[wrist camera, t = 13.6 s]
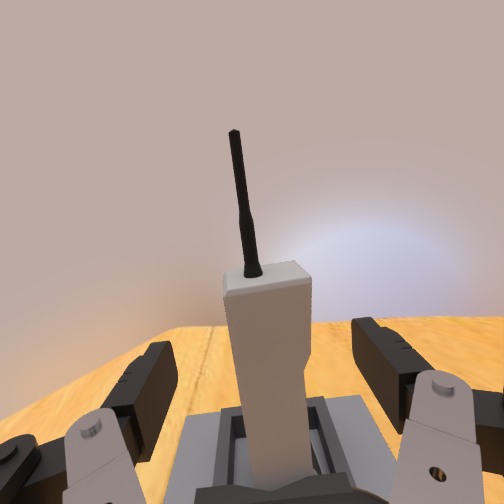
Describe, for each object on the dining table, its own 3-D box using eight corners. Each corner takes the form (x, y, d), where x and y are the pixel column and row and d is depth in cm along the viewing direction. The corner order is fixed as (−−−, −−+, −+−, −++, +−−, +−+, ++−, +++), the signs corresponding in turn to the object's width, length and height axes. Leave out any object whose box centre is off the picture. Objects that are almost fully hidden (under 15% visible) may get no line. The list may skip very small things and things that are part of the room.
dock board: (360, 406, 27) (359, 373, 26) (472, 622, 14) (478, 570, 13) (189, 427, 28) (181, 395, 27) (132, 660, 14) (113, 611, 13)
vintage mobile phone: (329, 500, 19) (299, 112, 13) (259, 517, 18) (194, 124, 12) (312, 450, 22) (282, 130, 16) (253, 462, 22) (200, 139, 16)
